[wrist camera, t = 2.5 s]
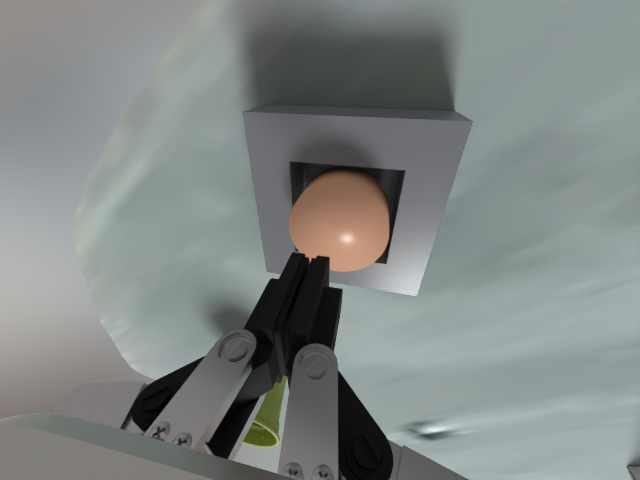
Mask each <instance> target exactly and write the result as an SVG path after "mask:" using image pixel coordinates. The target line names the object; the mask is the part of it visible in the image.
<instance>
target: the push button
mask: <svg viewBox="0 0 640 480" xmlns="http://www.w3.org/2000/svg"><path fill="white" fill-rule="evenodd" d="M289 232H290V236H291V239H292V241H293V243H294V245H295V246H296V248H297V249H298V251H299V252H300V253H304V254H305V257H309V261H310V262H311V259H312V258H316V257H317V255H319V256H327V257H330V268H329V270H332V271H339V272H349V271H355V270H359V269H362V268H365V267H367V266H369V265H371V264H372V263H374V262H375V261H376V260H377V259H378V258H379V257H380V256H381V255H382V253H383V252H384V250H385V248H386V246H387V243H388V240H389V203H388V198H387V195H386V193H385V191H384V189H383V187H382V186H381V185H380V183H379V182H378V181H377V180H376V179H375V178H373V177H372V176H371V175H369V174H367V173H366V172H364V171H361V170H359V169H355V168H350V167H337V168H332V169H328V170H326V171H323V172H322V173H320V174H318V175H317V176H316V177H314V178H313V179H312V180H311V182H310V183H309V184H308V186H307V187H306V189H305V190H304V191H303V193H302V194H301V196H300V197H299V199H298V200H297V202H296V203H295V204H294V206H293V208H292V210H291V213H290V216H289Z"/></svg>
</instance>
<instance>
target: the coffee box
mask: <svg viewBox="0 0 640 480" xmlns="http://www.w3.org/2000/svg"><path fill="white" fill-rule="evenodd" d="M627 469H628V471H629V474H630V476H631V478H632V480H640V466H627Z"/></svg>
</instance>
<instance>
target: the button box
mask: <svg viewBox="0 0 640 480" xmlns="http://www.w3.org/2000/svg"><path fill="white" fill-rule="evenodd" d="M243 117H244V123H245V130H246V137H247V143H248V150H249V157H250V163H251V170H252V177H253V183H254V190H255V197H256V203H257V210H258V216H259V223H260V230H261V236H262V243H263V250H264V256H265V263H266V270H267V272H271V273H278V274H282V272H283V270H284V268H285V266H286V263H287V261H288V259H289V257H290V255H291V253H292V252H296V253H300V252H299V251H298V249H297V248H296V246H295V245H294V243H293V241H292V239H291V236H290V232H289V216H290V213H291V210H292V208H293V206H294V204H295V203H296V202H297V200H298V199H299V197H300V196H301V194H302V193H303V191H304V190H305V189H306V187H307V186H308V184H309V183H310V182H311V180H312V179H313V178H314V177H316V176H317V175H318V174H320V173H322V172H323V171H326V170H328V169H332V168H337V167H350V168H355V169H359V170H361V171H364V172H366V173H367V174H369V175H371V176H372V177H373V178H375V179H376V180H377V181H378V182H379V183H380V185H381V186H382V187H383V189H384V191H385V193H386V195H387V198H388V203H389V240H388V243H387V246H386V248H385V250H384V252H383V253H382V255H381V256H380V257H379V258H378V259H377V260H376V261H375V262H374V263H372V264H371V265H369V266H367V267H365V268H362V269H359V270H355V271H349V272H339V271H332V270H329V282H333V283H339V284H345V285H352V286H358V287H364V288H370V289H376V290H382V291H389V292H395V293H401V294H407V295H413V296H417V293H418V290H419V287H420V284H421V280H422V277H423V274H424V271H425V268H426V265H427V262H428V259H429V256H430V253H431V249H432V246H433V243H434V240H435V237H436V234H437V231H438V228H439V225H440V222H441V218H442V215H443V212H444V209H445V206H446V203H447V200H448V197H449V194H450V191H451V187H452V184H453V181H454V178H455V175H456V172H457V169H458V166H459V163H460V160H461V156H462V153H463V150H464V147H465V144H466V141H467V138H468V135H469V132H470V128H471V125H472V122H473V121H471V120H469V119H468V118H466V117H465V116H463V115H461V114H460V113H458V112H456V111H453V110H424V109H396V108H367V107H339V106H310V105H282V104H268V105H265V106H261V107H258V108H254V109H251V110H248V111H244V112H243ZM309 265H310V261H309Z"/></svg>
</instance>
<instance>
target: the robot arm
mask: <svg viewBox="0 0 640 480" xmlns="http://www.w3.org/2000/svg"><path fill="white" fill-rule="evenodd" d="M329 268H330V257H327V256H319V255H317V257H316V258H312V259H311V262H310V265H309V257H305V254H304V253H296V252H292V253H291V255H290V257H289V259H288V261H287V263H286V266H285V268H284V270H283V272H282V274H281V276H280V278H279V279H273V278H272V279H270V281H269V282H268V284H267V286H266V288H265V290H264V291H263V293H262V295H261V297H260V299H259V301H258V303H257V305H256V306H255V308H254V310H253V312H252V314H251V316H250V318H249V320H248V321H247V323H246V325H245V327H244V329H236V330H232V331H229V332H227V333H226V334H224V335H223V336H222V337H221V338H220V339H219V340H218V341H217V342H216V343H215V345H214V346H213V347H212V348H211V350H210V351H209V352H208V354H207V355H206V356H204V357H202V358H200V359H198V360H196V361H194V362H192V363H190V364H188V365H186V366H184V367H182V368H180V369H178V370H176V371H174V372H172V373H170V374H168V375H166V376H164V377H162V378H160V379H158V380H156V381H154V382H153V383H151V384H146V383H145V382H119V383H93V384H87V385H83V386H81V387H79V388H77V389H75V390H73V391H72V392H70V393H69V394H68V395H66V396H65V397H64V399H63V400H62V401H61V402H60V403H59V404H58V405H57V407H56V408H55V409H54V411H53V412H52V413H51V414H47V413H33V414H24V415H17V416H12V417H8V418H4V419H0V480H469V479H467V478H465V477H463V476H461V475H459V474H457V473H455V472H453V471H451V470H450V469H448V468H446V467H444V466H442V465H440V464H438V463H436V462H434V461H433V460H431V459H429V458H427V457H425V456H423V455H421V454H419V453H417V452H416V451H414V450H412V449H410V448H408V447H406V446H404V445H403V446H402V447H401V446H399V445H397V444H395V443H394V442H392V441H390V440H388V439H387V438H386V436H385V435H384V433H383V432H382V430H381V429H380V428H379V426H378V425H377V423H376V422H375V421H374V419H373V418H372V417H371V415H370V414H369V412H368V411H367V410H366V408H365V407H364V405H363V404H362V403H361V401H360V400H359V398H358V397H357V396H356V394H355V393H354V391H353V390H352V389H351V387H350V386H349V385H348V383H347V382H346V380H345V379H344V378H343V376H342V375H341V373H340V372H339V371H338V363H337V358H336V356H335V354H334V347H335V341H336V336H337V330H338V324H339V318H340V311H341V303H342V291H343V290H342V289H339V288H332V287H329ZM283 376H287V378H288V385H289V397H288V404H287V411H286V418H285V425H284V432H283V439H282V446H281V453H280V460H279V466H278V473H277V474H276V473H273V472H269V471H266V470H263V469H259V468H256V467H252V466H249V465H245V464H241V463H238V462H235V461H233V460H234V458H235V456H236V454H237V452H238V450H239V448H240V446H241V444H242V442H243V440H244V438H245V436H246V434H247V432H248V430H249V429H250V427H251V425H252V423H253V421H254V419H255V417H256V415H257V413H258V411H259V409H260V407H261V405H262V403H263V401H264V399H265V396H266V393H267V392H268V391H270V390H271V389H273V387H274V384H275V382H276V383H281V380H282V377H283Z"/></svg>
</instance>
